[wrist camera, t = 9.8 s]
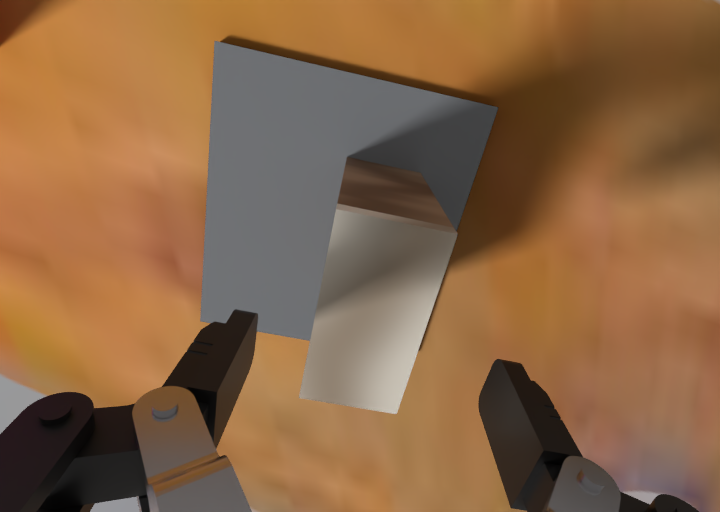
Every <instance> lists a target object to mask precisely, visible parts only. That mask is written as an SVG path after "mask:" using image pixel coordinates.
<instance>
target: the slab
mask: <svg viewBox="0 0 720 512" xmlns="http://www.w3.org/2000/svg"><path fill="white" fill-rule="evenodd" d="M457 236H458V234H457V232H456V230H455V229H454V227H453V225H452V224H451V222H450V220H449V219H448V217H447V215H446V214H445V212H444V211H443V209H442V207H441V206H440V204H439V202H438V201H437V199H436V197H435V196H434V194H433V192H432V191H431V189H430V187H429V186H428V184H427V183H426V181H425V179H424V178H423V176H422V174H421V173H419V172H414V171H410V170H405V169H401V168H396V167H391V166H387V165H382V164H378V163H373V162H368V161H364V160H359V159H355V158H350V157H347V159H346V164H345V169H344V173H343V178H342V183H341V188H340V192H339V197H338V202H337V207H336V212H335V217H334V222H333V227H332V232H331V237H330V242H329V247H328V252H327V257H326V263H325V268H324V273H323V278H322V283H321V288H320V293H319V298H318V303H317V308H316V313H315V319H314V324H313V329H312V334H311V339H310V344H309V349H308V354H307V359H306V364H305V370H304V375H303V380H302V385H301V390H300V395H299V398H303V399H309V400H315V401H321V402H327V403H333V404H339V405H345V406H351V407H357V408H363V409H369V410H375V411H381V412H387V413H393V414H397V411H398V408H399V406H400V403H401V400H402V397H403V394H404V391H405V388H406V385H407V382H408V379H409V376H410V373H411V370H412V367H413V365H414V362H415V359H416V356H417V353H418V350H419V347H420V344H421V341H422V338H423V335H424V332H425V329H426V326H427V323H428V321H429V318H430V315H431V312H432V309H433V306H434V303H435V300H436V297H437V294H438V291H439V288H440V285H441V282H442V280H443V277H444V274H445V271H446V268H447V265H448V262H449V259H450V256H451V253H452V250H453V247H454V244H455V241H456V238H457Z"/></svg>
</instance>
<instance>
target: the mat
mask: <svg viewBox="0 0 720 512" xmlns="http://www.w3.org/2000/svg"><path fill="white" fill-rule="evenodd" d="M497 110H498V107H495V106H490V105H486V104H482V103H478V102H473V101H469V100H465V99H461V98H456V97H452V96H448V95H443V94H439V93H435V92H431V91H426V90H422V89H418V88H414V87H409V86H405V85H401V84H397V83H392V82H388V81H384V80H380V79H375V78H371V77H367V76H363V75H358V74H354V73H350V72H345V71H341V70H337V69H333V68H328V67H324V66H320V65H316V64H311V63H307V62H303V61H299V60H294V59H290V58H286V57H282V56H277V55H273V54H269V53H265V52H260V51H256V50H252V49H248V48H243V47H239V46H235V45H230V44H226V43H222V42H218V41H215V45H214V65H213V84H212V104H211V124H210V143H209V163H208V182H207V202H206V222H205V241H204V261H203V280H202V300H201V319H200V321H202V322H207V323H213V322H214V321H215V322H221V323H226V322H227V320H228V319H229V317H230V316H231V314H232V312H233V311H234V310H235V309H237V310H243V311H248V312H253V313H258V324H257V331H258V332H264V333H269V334H275V335H280V336H286V337H292V338H297V339H303V340H309V341H310V339H311V334H312V329H313V324H314V319H315V313H316V308H317V303H318V298H319V293H320V288H321V283H322V278H323V273H324V268H325V263H326V257H327V252H328V247H329V242H330V237H331V232H332V227H333V222H334V217H335V212H336V207H337V202H338V197H339V192H340V188H341V183H342V178H343V173H344V169H345V164H346V159H347V157H350V158H355V159H359V160H364V161H368V162H373V163H378V164H382V165H387V166H391V167H396V168H401V169H405V170H410V171H414V172H419V173H421V174H422V176H423V178H424V179H425V181H426V183H427V184H428V186H429V187H430V189H431V191H432V192H433V194H434V196H435V197H436V199H437V201H438V202H439V204H440V206H441V207H442V209H443V211H444V212H445V214H446V215H447V217H448V219H449V220H450V222H451V224H452V225H453V227H454V229H455V230H456V232H457V229H458V226H459V223H460V220H461V217H462V214H463V211H464V208H465V205H466V202H467V199H468V196H469V193H470V190H471V187H472V184H473V181H474V178H475V175H476V172H477V170H478V167H479V164H480V161H481V158H482V155H483V152H484V149H485V146H486V143H487V140H488V137H489V134H490V131H491V128H492V125H493V122H494V119H495V116H496V113H497Z"/></svg>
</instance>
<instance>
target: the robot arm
mask: <svg viewBox="0 0 720 512" xmlns="http://www.w3.org/2000/svg"><path fill="white" fill-rule="evenodd" d="M257 324H258V313H253V312H248V311H243V310H237V309H235V310H234V311H233V312H232V314H231V316H230V317H229V319H228V320H227V322H226V323H221V322H215V321H214V322H213V323H211V324H209V325H208V326H206V327H205V328H203V329H202V330H201V331H200V332H199V334H198V335H197V337H196V338H195V340H194V342H193V343H192V344H191V345H190V347H189V348H188V350H187V352H186V353H185V354H184V356H183V357H182V358H181V360H180V361H179V363H178V364H177V366H176V367H175V369H174V370H173V372H172V373H171V374H170V376H169V377H168V379H167V380H166V382H165V383H164V385H163V386H162V387H160V388H157V389H154V390H151V391H149V392H148V393H146V394H144V395H143V396H142V397H140V399H139V400H138V401H137V402H136V403H135V404H131V405H127V406H118V407H106V408H94V406H93V402H92V400H91V399H90V398H89V397H87V396H86V395H84V394H81V393H76V392H63V393H57V394H53V395H50V396H47V397H44V398H42V399H40V400H38V401H36V402H34V403H33V404H31V405H30V406H28V407H27V408H26V409H25V410H23V411H22V412H21V414H19V416H18V417H17V418H16V419H15V420H14V421H13V422H12V423H11V424H10V425H9V426H8V427H7V428H6V429H5V430H4V431H3V432H2V433H1V434H0V512H90V510H91V509H92V507H93V505H94V504H95V503H99V502H105V501H111V500H117V499H124V498H130V497H136V496H137V501H138V506H139V511H140V512H252V511H251V509H250V506H249V504H248V502H247V499H246V497H245V495H244V492H243V490H242V488H241V485H240V483H239V481H238V478H237V476H236V473H235V471H234V469H233V466H232V464H231V462H230V460H229V459H228V457H227V456H225V455H224V456H221V457H220V456H219V455H218V453H217V451H216V448H217V446H218V444H219V441H220V439H221V436H222V434H223V432H224V429H225V427H226V425H227V422H228V420H229V418H230V415H231V413H232V410H233V408H234V406H235V403H236V401H237V399H238V396H239V394H240V392H241V389H242V387H243V384H244V382H245V380H246V377H247V375H248V373H249V370H250V367H251V364H252V360H253V356H254V350H255V341H256V332H257ZM479 412H480V416H481V419H482V422H483V425H484V428H485V431H486V434H487V437H488V440H489V443H490V446H491V449H492V452H493V455H494V458H495V461H496V464H497V467H498V470H499V473H500V476H501V479H502V483H503V486H504V489H505V492H506V495H507V498H508V501H509V504H510V507H511V508H514V509H520V510H526V511H527V512H699V511H698V510H696V509H695V508H694V507H692V506H691V505H690V504H688V503H686V502H685V501H683V500H681V499H679V498H677V497H674V496H671V495H666V494H661V495H658V496H657V497H656V498H655V499H654V500H653V502H652V503H651V504H650V505H649V504H647V503H645V502H642V501H640V500H638V499H636V498H633V497H631V496H629V495H627V494H624V493H622V492H620V490H619V488H618V486H617V484H616V483H615V481H614V480H613V478H612V477H611V476H610V475H609V474H608V473H607V472H606V471H605V470H604V469H602V468H601V467H600V466H598V465H597V464H596V463H594V462H592V461H590V460H588V459H586V458H583V456H582V455H581V453H580V451H579V449H578V448H577V446H576V444H575V442H574V440H573V439H572V437H571V435H570V433H569V432H568V430H567V428H566V426H565V425H564V423H563V421H562V420H560V418H561V417H560V416H559V414H558V412H557V410H556V409H554V405H553V403H552V402H551V400H550V398H549V396H548V395H547V393H546V392H545V391H544V390H543V389H542V388H541V387H540V386H539V385H538V384H537V383H536V382H535V381H531V380H530V378H529V376H528V375H527V373H526V371H525V369H524V367H523V366H522V364H520V363H517V362H511V361H506V360H501V359H497V360H495V361H494V363H493V365H492V367H491V370H490V372H489V374H488V377H487V379H486V381H485V384H484V386H483V388H482V390H481V393H480V396H479Z"/></svg>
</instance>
